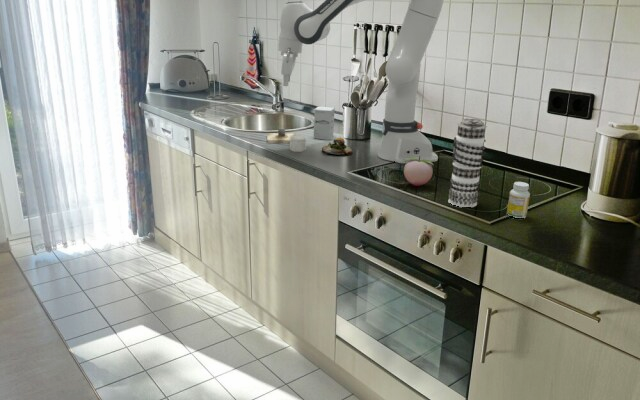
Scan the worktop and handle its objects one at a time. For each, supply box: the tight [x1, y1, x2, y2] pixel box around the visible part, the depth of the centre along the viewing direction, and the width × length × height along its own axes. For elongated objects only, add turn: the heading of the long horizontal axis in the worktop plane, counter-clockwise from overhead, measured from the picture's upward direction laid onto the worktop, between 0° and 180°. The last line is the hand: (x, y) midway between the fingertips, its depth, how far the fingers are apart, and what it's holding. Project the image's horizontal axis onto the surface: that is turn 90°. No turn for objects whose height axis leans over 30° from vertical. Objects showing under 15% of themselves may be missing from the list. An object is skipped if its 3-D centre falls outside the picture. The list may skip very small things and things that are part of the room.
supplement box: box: [313, 106, 336, 141], centre depth 237 cm, size 7×7×13 cm
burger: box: [321, 136, 353, 157], centre depth 216 cm, size 12×12×8 cm
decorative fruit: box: [403, 156, 435, 187], centre depth 179 cm, size 9×8×10 cm
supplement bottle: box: [506, 181, 531, 219], centre depth 157 cm, size 5×5×10 cm
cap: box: [289, 134, 307, 153], centre depth 219 cm, size 6×6×5 cm
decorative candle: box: [447, 118, 488, 208], centre depth 164 cm, size 9×9×25 cm
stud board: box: [266, 128, 297, 144], centre depth 233 cm, size 12×12×4 cm
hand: (286, 83), depth 214 cm, fingers open, 8 cm apart
